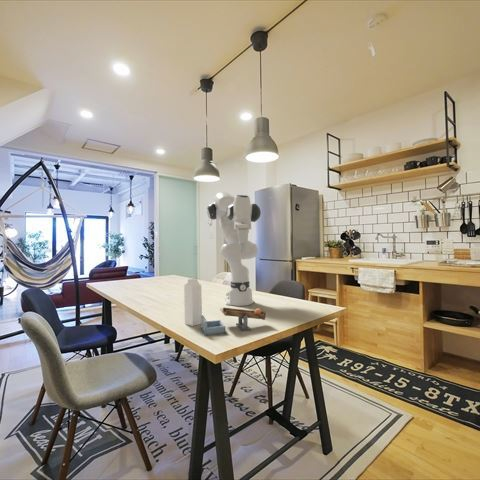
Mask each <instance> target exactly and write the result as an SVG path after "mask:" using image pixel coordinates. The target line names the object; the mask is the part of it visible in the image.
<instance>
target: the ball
mask: <svg viewBox="0 0 480 480" xmlns="http://www.w3.org/2000/svg"><path fill="white" fill-rule="evenodd" d="M261 310H262V309H261V308H255V309H254V310H253V311H254V313H258V314H261V313H262V311H261Z"/></svg>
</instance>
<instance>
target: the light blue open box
mask: <svg viewBox="0 0 480 480" xmlns="http://www.w3.org/2000/svg"><path fill="white" fill-rule="evenodd" d="M200 326H201V327H200V328H201V331H202V333H203V335H204V336H205V337H206V336H212V335H221V334H226V325H224V323H222V320H221V319H218V320H217V319H216V320H210V321H208V320H207V318H205V316H204V315H203V314H202V316H201V324H200Z"/></svg>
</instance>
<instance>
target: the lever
mask: <svg viewBox="0 0 480 480" xmlns="http://www.w3.org/2000/svg"><path fill="white" fill-rule="evenodd" d="M219 311H220V312H221V313H222V314H223V315H224V316H227V317H241V318H242V320H243V315H247V317H248V319H255V320H256V319H258V320H263V321H264V320H266V314H267V312H266V311H264V310H263V309H261V311H262V313H261V314H258V313H254V311H255V310H251V309H240V308H232V307H231V308H230V307H219Z"/></svg>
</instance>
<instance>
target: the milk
mask: <svg viewBox="0 0 480 480" xmlns="http://www.w3.org/2000/svg"><path fill="white" fill-rule="evenodd" d="M183 293H184V297H183V298H184V324H185V325H187V326H191V327H193V326H194V327H195V326H197V325H201V316H202V315H203V312H202V310H203V307H202V303H203V302H202V301H203V298H202V284H201V283H200V282H199V280H198V278H197V277H196V278H195V277H194V278H188V279H187V283H185V284H184V286H183Z"/></svg>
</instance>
